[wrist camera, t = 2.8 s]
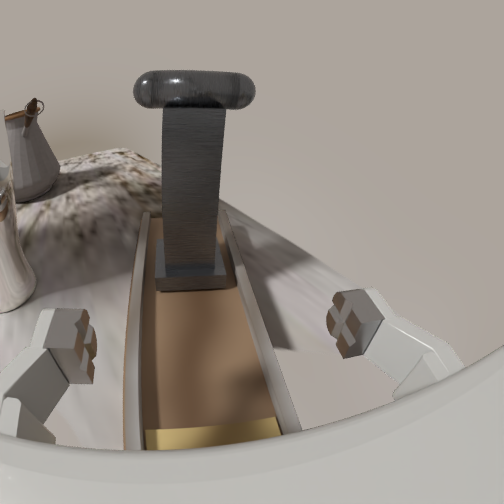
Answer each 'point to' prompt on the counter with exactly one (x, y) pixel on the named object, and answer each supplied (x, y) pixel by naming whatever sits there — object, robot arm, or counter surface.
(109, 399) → the counter surface
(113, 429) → the counter surface
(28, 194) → the coffee pot
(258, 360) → the track
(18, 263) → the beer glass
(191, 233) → the handle
